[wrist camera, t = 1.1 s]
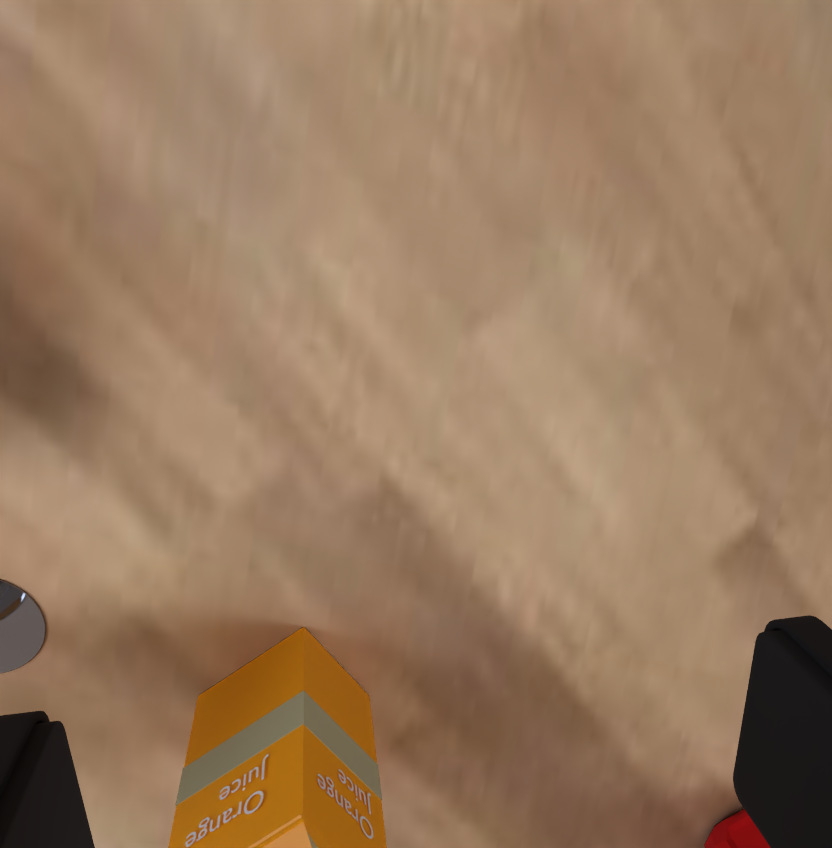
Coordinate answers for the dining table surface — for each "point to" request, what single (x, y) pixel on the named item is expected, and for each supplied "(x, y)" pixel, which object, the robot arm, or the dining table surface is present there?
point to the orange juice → (282, 758)
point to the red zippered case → (736, 833)
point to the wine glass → (19, 627)
